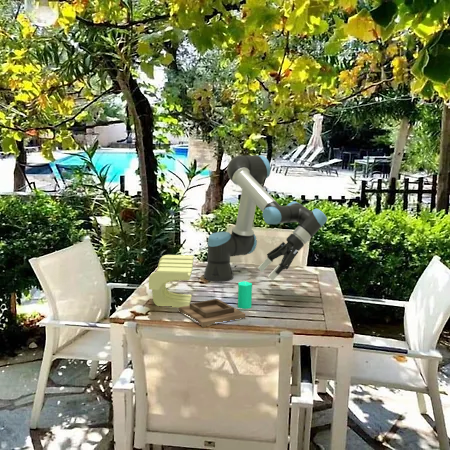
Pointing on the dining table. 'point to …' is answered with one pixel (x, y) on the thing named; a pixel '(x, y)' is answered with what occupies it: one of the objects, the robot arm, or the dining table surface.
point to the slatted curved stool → (167, 272)
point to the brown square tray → (211, 312)
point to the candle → (244, 295)
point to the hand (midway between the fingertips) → (264, 274)
